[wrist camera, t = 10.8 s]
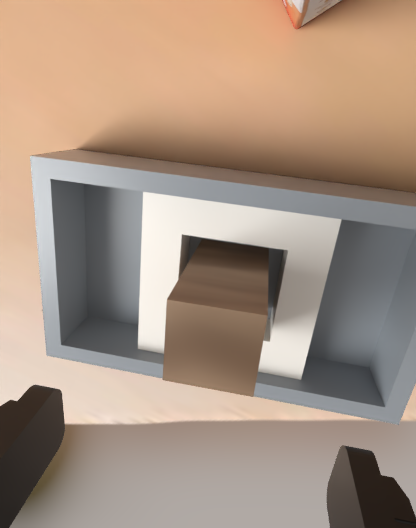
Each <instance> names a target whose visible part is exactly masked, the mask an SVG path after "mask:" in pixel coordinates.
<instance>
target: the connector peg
mask: <svg viewBox="0 0 416 528" xmlns="http://www.w3.org/2000/svg"><path fill="white" fill-rule="evenodd" d="M268 271H269V248H263V247H256V246H249V245H242V244H234V243H227V242H220V241H213V240H206V239H202V240H201V242H200V243H199V245H198V247H197V249H196V250H195V252H194V254H193V255H192V257H191V259H190V261H189V262H188V264H187V266H186V267H185V269H184V271H183V273H182V274H181V276H180V278H179V280H178V281H177V283H176V285H175V286H174V288H173V290H172V292H171V293H170V295H169V297H168V298H167V305H166V324H165V343H164V362H163V380H165V381H171V382H176V383H181V384H187V385H192V386H198V387H203V388H208V389H214V390H219V391H224V392H230V393H235V394H240V395H246V396H251V397H253V396H254V391H255V385H256V379H257V374H258V368H259V362H260V357H261V351H262V346H263V340H264V334H265V329H266V323H267V317H268Z"/></svg>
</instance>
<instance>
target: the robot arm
mask: <svg viewBox="0 0 416 528" xmlns="http://www.w3.org/2000/svg"><path fill="white" fill-rule="evenodd" d="M64 431H65V424H64V412H63V401H62V393H61V391H60V390H59V389H55V388H49V387H44V386H39V385H33V386H31V387H30V388H29V389H28V390H27V391H26V392H25V393H24V394H23V396H22V397H21V398H20V399H19V400H18V401H13V400H10V401H8V402H6V403H5V404H3V405H2V406H0V528H9V527H10V525H11V524H12V522H13V521H14V519H15V517H16V516H17V514H18V513H19V511H20V510H21V508H22V506H23V505H24V503H25V501H26V500H27V498H28V497H29V495H30V494H31V492H32V491H33V488H34V487H35V486H36V484H37V483H38V481H39V479H40V478H41V476H42V475H43V473H44V471H45V470H46V468H47V467H48V465H49V463H50V462H51V460H52V458H53V457H54V456H55V454H56V452H57V451H58V449H59V447H60V445H61V442H62V439H63V436H64ZM327 510H328V516H329V523H330V528H416V517H415V514H414V511H413V509H412V506H411V503H410V500H409V498H408V497H407V496H406V494H405V493H404V492H403V490H402V489H401V488H400V486H399V485H398V484H397V482H396V481H395V479H394V478H392V477H387V476H382V475H381V474H380V471H379V467H378V464H377V461H376V458H375V455H374V453H373V452H372V451H369V450H364V449H359V448H353V447H348V446H341V447H340V449H339V452H338V455H337V458H336V461H335V464H334V467H333V470H332V473H331V476H330V479H329V483H328V488H327Z"/></svg>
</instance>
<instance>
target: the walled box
mask: <svg viewBox="0 0 416 528" xmlns="http://www.w3.org/2000/svg"><path fill="white" fill-rule="evenodd" d="M30 161H31V173H32V185H33V197H34V209H35V221H36V233H37V245H38V257H39V269H40V281H41V293H42V306H43V318H44V330H45V342H46V354H47V356H51V357H57V358H62V359H67V360H72V361H77V362H82V363H87V364H92V365H97V366H102V367H107V368H113V369H118V370H123V371H128V372H133V373H138V374H143V375H148V376H153V377H158V378H163V362H164V343H165V324H166V305H167V298H168V297H169V295H170V293H171V292H172V290H173V288H174V286H175V285H176V283H177V281H178V280H179V278H180V276H181V274H182V273H183V271H184V269H185V267H186V266H187V264H188V262H189V261H190V259H191V257H192V255H193V254H194V252H195V250H196V249H197V247H198V245H199V243H200V242H201V240H202V239H206V240H213V241H220V242H227V243H234V244H242V245H249V246H256V247H263V248H269V271H268V317H267V323H266V329H265V334H264V340H263V346H262V351H261V357H260V362H259V368H258V374H257V379H256V385H255V391H254V396H255V397H260V398H265V399H270V400H275V401H280V402H285V403H290V404H296V405H301V406H306V407H311V408H316V409H321V410H326V411H331V412H336V413H341V414H346V415H351V416H357V417H362V418H367V419H372V420H377V421H382V422H387V423H392V424H397V425H399V422H400V420H401V417H402V415H403V413H404V410H405V408H406V405H407V403H408V400H409V398H410V395H411V393H412V390H413V388H414V386H415V383H416V193H413V192H405V191H397V190H390V189H382V188H374V187H366V186H359V185H351V184H343V183H335V182H327V181H320V180H312V179H304V178H296V177H288V176H281V175H273V174H265V173H257V172H249V171H242V170H234V169H226V168H218V167H210V166H203V165H195V164H187V163H179V162H172V161H164V160H156V159H148V158H140V157H133V156H125V155H117V154H109V153H101V152H94V151H86V150H78V149H73V150H66V151H59V152H52V153H45V154H39V155H32V156H30Z"/></svg>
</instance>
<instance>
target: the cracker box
mask: <svg viewBox="0 0 416 528" xmlns="http://www.w3.org/2000/svg"><path fill="white" fill-rule="evenodd" d="M282 1H283V3H284V6H285V8H286V10H287V13H288V15H289V17H290V19H291V21H292V24H293V26H294V28H295V29H299V28H300V27H301V26H303V25H304V24H306V23H307V22H309V21H310V20H312V19H314V18H315V17H317V16H318V15H320V14H321V13H323V12H324V11H326V10H328V9H329V8H331V7H332V6H334V5H335V4H337V3H338V2H340V1H341V0H282Z"/></svg>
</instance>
